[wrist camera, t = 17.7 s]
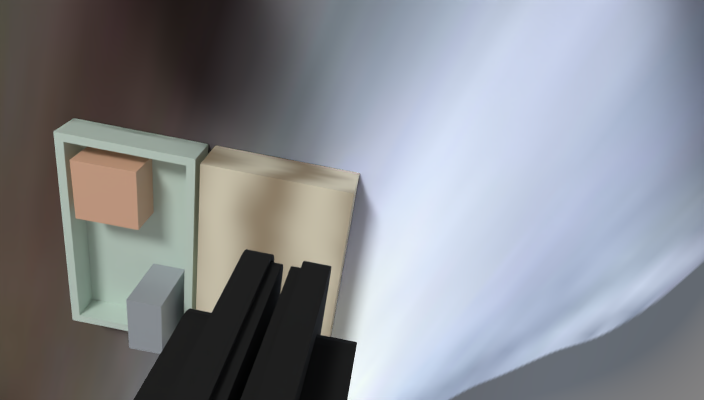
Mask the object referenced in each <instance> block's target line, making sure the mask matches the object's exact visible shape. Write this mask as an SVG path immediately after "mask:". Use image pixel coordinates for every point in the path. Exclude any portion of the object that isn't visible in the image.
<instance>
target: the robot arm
mask: <svg viewBox="0 0 704 400" xmlns="http://www.w3.org/2000/svg"><path fill="white" fill-rule="evenodd" d="M282 275H283V264H279V263H274V255H273V254H268V253H263V252H258V251H253V250H248V249H246V250H244V252H243V253H242V255H241V257H240V259H239V261H238V263H237V265H236V267H235V269H234V271H233V273H232V275H231V276H230V278H229V280H228V282H227V284H226V286H225V288H224V290H223V292H222V294H221V296H220V298H219V299H218V301H217V303H216V305H215V307H214V309H213V311H212V313H210V312H205V311H200V310H195V309H191V308H190V309H188V310H187V311H186V312H185V313H184V315H183V316H182V318H181V320H180V321H179V323H178V325H177V326H176V328H175V330H174V332H173V333H172V335H171V337H170V338H169V340H168V342H167V343H166V345H165V347H164V349H163V350H162V352H161V354H160V355H159V357H158V359H157V361H156V362H155V364H154V366H153V367H152V369H151V371H150V373H149V374H148V376H147V378H146V379H145V381H144V383H143V385H142V386H141V388H140V390H139V391H138V393H137V395H136V397H135V398H134V400H347V397H348V391H349V386H350V380H351V374H352V368H353V362H354V357H355V351H356V345H357V342H353V341H348V340H343V339H338V338H333V337H328V336H323V335H321V329H322V323H323V317H324V311H325V305H326V299H327V293H328V287H329V281H330V275H331V266H328V265H323V264H318V263H313V262H308V261H303V263H302V266H301V268H299V267H294V266H291V267H290V270H289V272H288V275H287V278H286V280H285V283H284V286H283V288H282V291H281V283H282ZM280 292H281V293H280Z"/></svg>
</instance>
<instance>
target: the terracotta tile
mask: <svg viewBox="0 0 704 400" xmlns="http://www.w3.org/2000/svg"><path fill="white" fill-rule="evenodd" d="M70 169H71V179H72V188H73V198H74V208H75V217H76V218H77V219H82V220H87V221H93V222H98V223H103V224H109V225H114V226H119V227H125V228H130V229H135V230H139V229H140V228H141V227H142V226H143V224H144V223H145V222H146V221H147V220H148V218H149V217H150V216H151V215H152V214H153V213H154V206H153V172H152V159H149V158H144V157H139V156H134V155H129V154H124V153H119V152H113V151H108V150H103V149H98V148H93V147H88V146H87V147H86V148H85V149H83V150H82V151H81V152H79V153H78V154H77V155H75V156H74V157H73V158H71V159H70Z"/></svg>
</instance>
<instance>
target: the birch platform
mask: <svg viewBox="0 0 704 400" xmlns="http://www.w3.org/2000/svg"><path fill="white" fill-rule="evenodd" d="M359 175H360V173H356V172H351V171H345V170H340V169H335V168H330V167H325V166H319V165H314V164H309V163H304V162H299V161H293V160H288V159H283V158H278V157H273V156H268V155H262V154H257V153H252V152H247V151H242V150H236V149H231V148H226V147H221V146H215V147H214V148H213V149H212V150H211V152H210V153H209V154H208V155H207V156H206V158H205V159H204V160H203V161H202V162H201V163H200V189H199V224H198V259H197V293H196V310H200V311H205V312H210V313H212V311H213V309H214V307H215V305H216V303H217V301H218V299H219V298H220V296H221V294H222V292H223V290H224V288H225V286H226V284H227V282H228V280H229V278H230V276H231V275H232V273H233V271H234V269H235V267H236V265H237V263H238V261H239V259H240V257H241V255H242V253H243V252H244V250H246V249H248V250H253V251H258V252H263V253H268V254H273V255H274V263H279V264H283V275H282V283H281V291H282V288H283V286H284V283H285V280H286V278H287V275H288V272H289V270H290V267H291V266H294V267H299V268H301V266H302V263H303V261H308V262H313V263H318V264H323V265H328V266H331V275H330V281H329V287H328V293H327V299H326V305H325V311H324V317H323V323H322V329H321V335H323V336H328V337H331V333H332V328H333V322H334V316H335V311H336V305H337V299H338V294H339V288H340V282H341V277H342V271H343V265H344V260H345V254H346V248H347V243H348V237H349V231H350V226H351V220H352V214H353V209H354V203H355V197H356V192H357V186H358V180H359ZM280 293H281V292H280Z"/></svg>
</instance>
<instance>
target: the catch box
mask: <svg viewBox="0 0 704 400" xmlns="http://www.w3.org/2000/svg"><path fill="white" fill-rule="evenodd" d="M54 142H55V151H56V161H57V171H58V181H59V190H60V200H61V210H62V220H63V229H64V239H65V249H66V259H67V269H68V278H69V288H70V298H71V308H72V317H73V320H76V321H81V322H86V323H91V324H96V325H101V326H106V327H110V328H115V329H120V330H125V331H128V319H127V303H126V300H127V298H128V297H129V295H130V294H131V293H132V291H133V290H134V289H135V287H136V286H137V285H138V283H139V282H140V281H141V279H142V278H143V277H144V275H145V274H146V273H147V271H148V270H149V268H150V267H151V266H152V264H153V263H154V264H159V265H164V266H170V267H175V268H180V269H185V273H184V313H185V312H186V311H187V310H188V309H190V308H191V309H195V310H196V293H197V259H198V224H199V189H200V163H201V162H202V161H203V160H204V159H205V158H206V156H207V155H208V144H205V143H200V142H195V141H190V140H185V139H179V138H174V137H169V136H164V135H159V134H153V133H148V132H143V131H138V130H133V129H127V128H122V127H117V126H112V125H107V124H102V123H96V122H91V121H86V120H81V119H76V118H74V119H72V120H70V121H69V122H67V123H66V124H64V125H63V126H61V127H60V128H58V129H57V130H55V131H54ZM87 146H88V147H93V148H98V149H103V150H108V151H113V152H119V153H124V154H129V155H134V156H139V157H144V158H149V159H152V172H153V206H154V213H153V214H152V215H151V216H150V217H149V218H148V220H147V221H146V222H145V223H144V224H143V226H142V227H141V228H140V229H139V230H135V229H130V228H125V227H119V226H114V225H109V224H103V223H98V222H93V221H87V220H82V219H77V218H76V217H75V208H74V198H73V188H72V179H71V169H70V159H71V158H73V157H74V156H75V155H77V154H78V153H79V152H81V151H82V150H83V149H85V148H86V147H87Z"/></svg>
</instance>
